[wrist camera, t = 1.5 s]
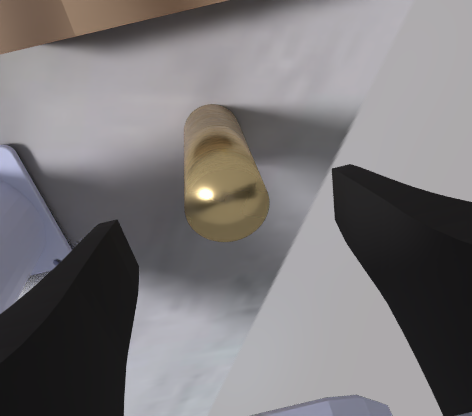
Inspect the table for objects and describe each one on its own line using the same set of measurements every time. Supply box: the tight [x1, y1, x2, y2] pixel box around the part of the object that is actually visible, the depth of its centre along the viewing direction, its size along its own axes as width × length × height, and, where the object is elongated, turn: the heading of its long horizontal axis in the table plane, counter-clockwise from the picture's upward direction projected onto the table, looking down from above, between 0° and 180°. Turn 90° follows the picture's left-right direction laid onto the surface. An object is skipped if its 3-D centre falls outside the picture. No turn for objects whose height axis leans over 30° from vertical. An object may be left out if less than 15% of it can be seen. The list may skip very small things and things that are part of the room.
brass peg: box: [184, 104, 269, 242], centre depth 16 cm, size 3×3×8 cm
